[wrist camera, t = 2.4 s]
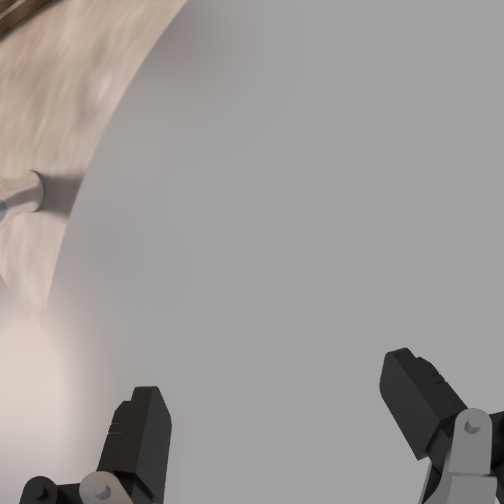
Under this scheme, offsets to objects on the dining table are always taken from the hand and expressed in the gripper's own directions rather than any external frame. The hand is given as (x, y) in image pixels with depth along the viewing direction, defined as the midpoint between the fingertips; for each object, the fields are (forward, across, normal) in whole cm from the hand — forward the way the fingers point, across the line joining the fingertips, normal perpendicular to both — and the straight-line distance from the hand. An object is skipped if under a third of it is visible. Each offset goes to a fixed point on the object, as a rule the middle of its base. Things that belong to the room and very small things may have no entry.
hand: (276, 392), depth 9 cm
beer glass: (+30, +30, -8) cm, 43 cm away
